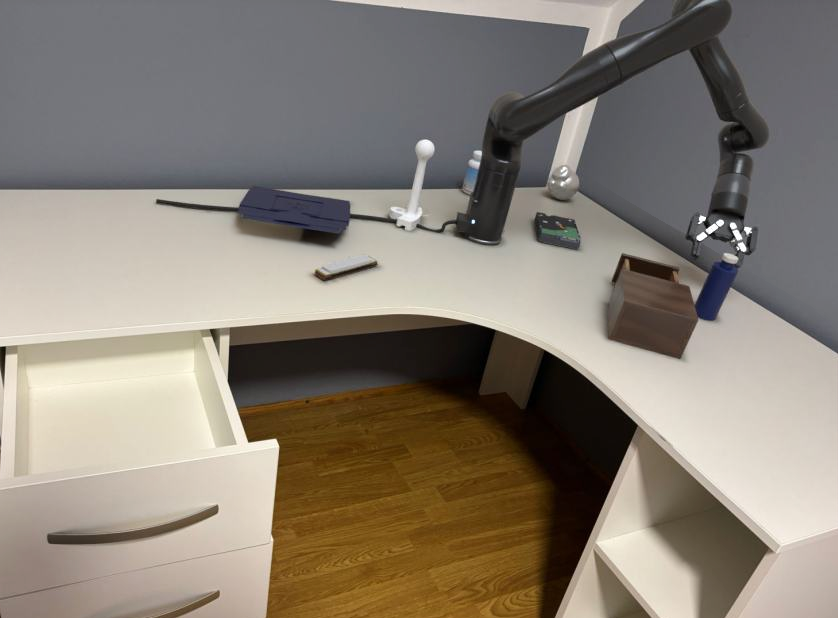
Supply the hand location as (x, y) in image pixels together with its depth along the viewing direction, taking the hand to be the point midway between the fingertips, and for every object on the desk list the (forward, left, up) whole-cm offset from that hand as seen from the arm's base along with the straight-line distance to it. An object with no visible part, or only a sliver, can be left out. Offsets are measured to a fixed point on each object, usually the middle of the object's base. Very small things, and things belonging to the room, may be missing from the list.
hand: (715, 263), depth 154 cm
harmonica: (-79, -16, -9) cm, 82 cm away
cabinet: (-19, -20, -9) cm, 29 cm away
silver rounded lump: (-23, +55, -9) cm, 60 cm away
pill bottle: (-49, +47, -9) cm, 68 cm away
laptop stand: (-93, +7, -9) cm, 94 cm away
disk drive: (-29, +25, -9) cm, 39 cm away
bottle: (-2, -8, -9) cm, 12 cm away
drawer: (-16, -6, -8) cm, 19 cm away
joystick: (-68, +17, -9) cm, 71 cm away
